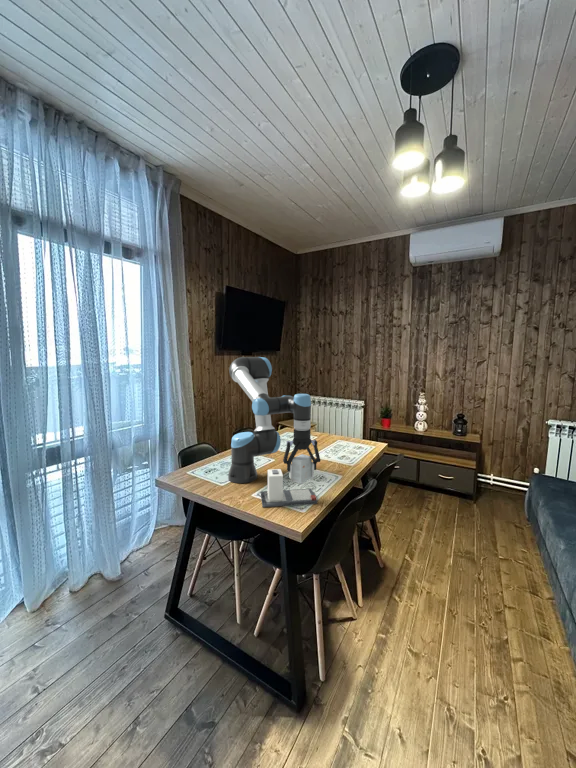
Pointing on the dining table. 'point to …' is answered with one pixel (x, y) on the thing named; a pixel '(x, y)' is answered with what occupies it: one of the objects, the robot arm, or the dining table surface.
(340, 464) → the dining table surface
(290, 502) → the strip board
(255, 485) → the dining table surface
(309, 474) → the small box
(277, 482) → the twin plug
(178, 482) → the dining table surface
